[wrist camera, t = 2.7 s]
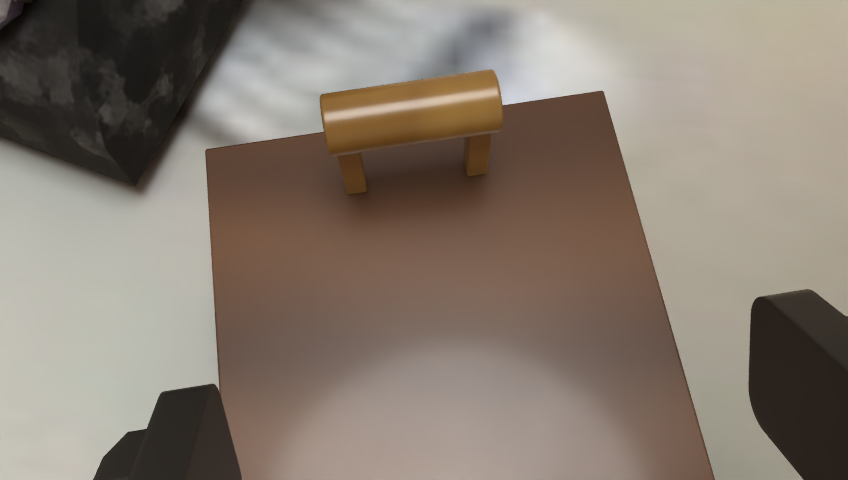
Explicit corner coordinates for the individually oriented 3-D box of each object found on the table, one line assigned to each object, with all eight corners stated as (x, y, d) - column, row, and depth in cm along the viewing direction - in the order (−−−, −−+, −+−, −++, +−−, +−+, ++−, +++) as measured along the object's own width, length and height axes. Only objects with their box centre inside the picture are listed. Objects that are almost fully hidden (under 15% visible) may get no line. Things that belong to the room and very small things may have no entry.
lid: (210, 160, 28) (158, 66, 23) (599, 102, 29) (633, -3, 23) (244, 698, 22) (181, 737, 16) (743, 611, 22) (834, 622, 17)
